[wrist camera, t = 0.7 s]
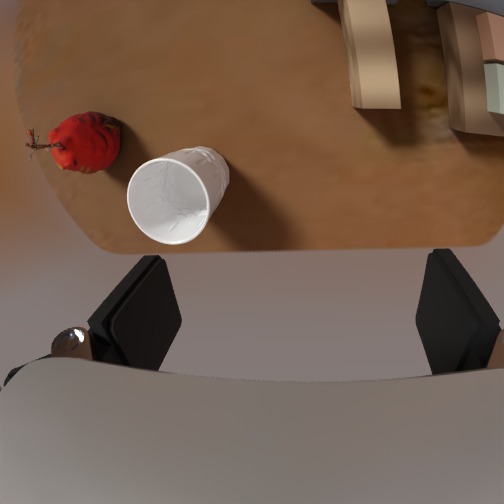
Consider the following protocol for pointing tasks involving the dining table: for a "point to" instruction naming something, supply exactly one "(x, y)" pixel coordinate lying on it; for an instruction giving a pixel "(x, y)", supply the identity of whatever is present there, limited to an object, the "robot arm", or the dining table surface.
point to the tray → (474, 4)
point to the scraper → (369, 53)
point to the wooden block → (466, 71)
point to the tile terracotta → (491, 36)
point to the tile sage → (495, 87)
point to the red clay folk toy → (83, 142)
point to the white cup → (177, 193)
